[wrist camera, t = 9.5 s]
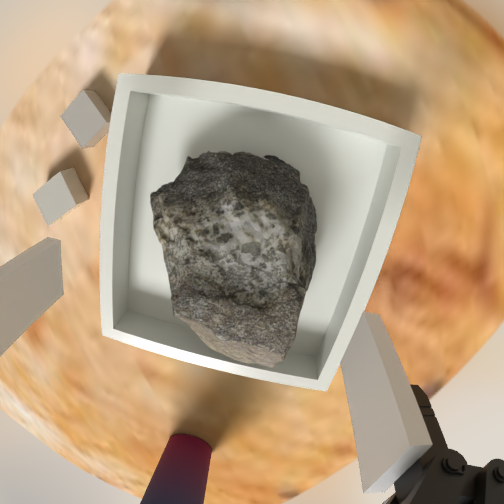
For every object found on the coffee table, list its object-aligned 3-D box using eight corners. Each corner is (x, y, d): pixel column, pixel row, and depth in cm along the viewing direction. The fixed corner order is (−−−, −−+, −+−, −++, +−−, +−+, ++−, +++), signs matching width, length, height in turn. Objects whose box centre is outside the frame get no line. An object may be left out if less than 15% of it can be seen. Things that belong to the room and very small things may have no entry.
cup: (205, 427, 30) (170, 554, 16) (228, 460, 32) (205, 571, 18) (151, 428, 31) (106, 538, 17) (177, 461, 33) (146, 560, 19)
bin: (121, 311, 25) (102, 335, 22) (143, 79, 18) (118, 73, 15) (323, 361, 25) (326, 391, 22) (400, 134, 18) (421, 136, 15)
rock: (159, 165, 19) (109, 184, 13) (294, 127, 18) (302, 126, 12) (220, 340, 24) (203, 403, 18) (335, 319, 22) (350, 382, 16)
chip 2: (74, 115, 20) (60, 116, 18) (96, 91, 19) (83, 89, 17) (95, 146, 20) (82, 148, 19) (119, 122, 20) (106, 122, 18)
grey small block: (62, 218, 23) (47, 226, 21) (47, 189, 22) (32, 194, 20) (90, 198, 22) (76, 204, 20) (75, 166, 21) (60, 171, 19)
